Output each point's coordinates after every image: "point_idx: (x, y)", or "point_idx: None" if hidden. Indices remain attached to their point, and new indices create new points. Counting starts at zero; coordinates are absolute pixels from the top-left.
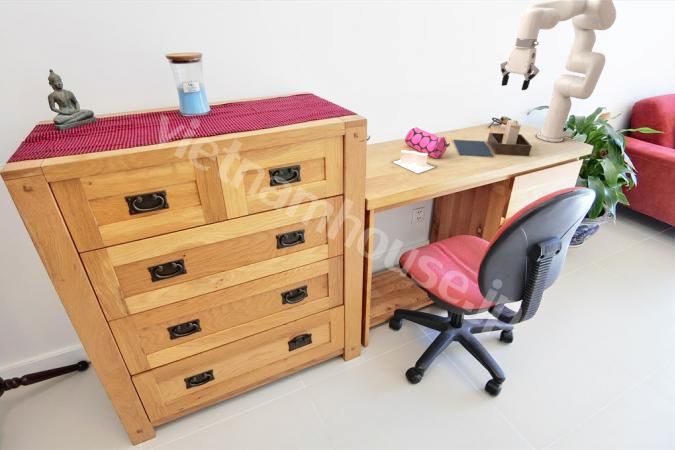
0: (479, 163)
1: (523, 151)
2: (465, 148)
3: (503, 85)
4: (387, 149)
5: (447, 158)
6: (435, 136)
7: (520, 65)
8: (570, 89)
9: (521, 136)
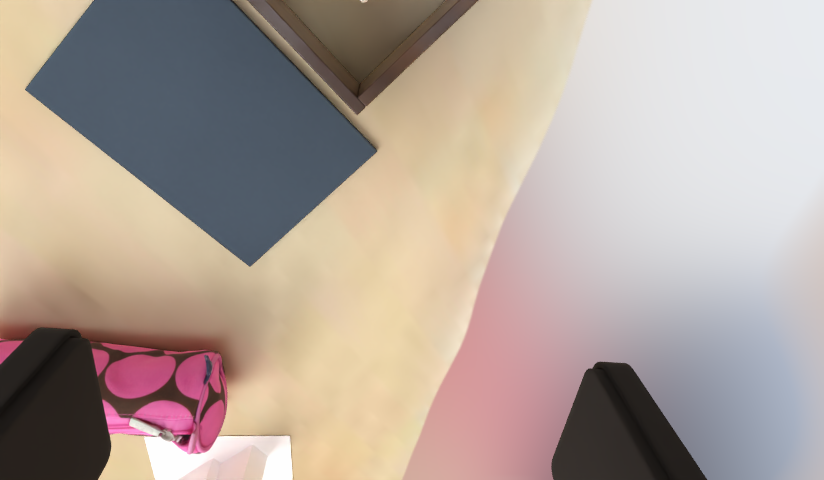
0: (382, 279)
1: None
2: (198, 172)
3: (109, 442)
4: None
5: (249, 340)
6: (130, 428)
7: None
8: None
9: None
